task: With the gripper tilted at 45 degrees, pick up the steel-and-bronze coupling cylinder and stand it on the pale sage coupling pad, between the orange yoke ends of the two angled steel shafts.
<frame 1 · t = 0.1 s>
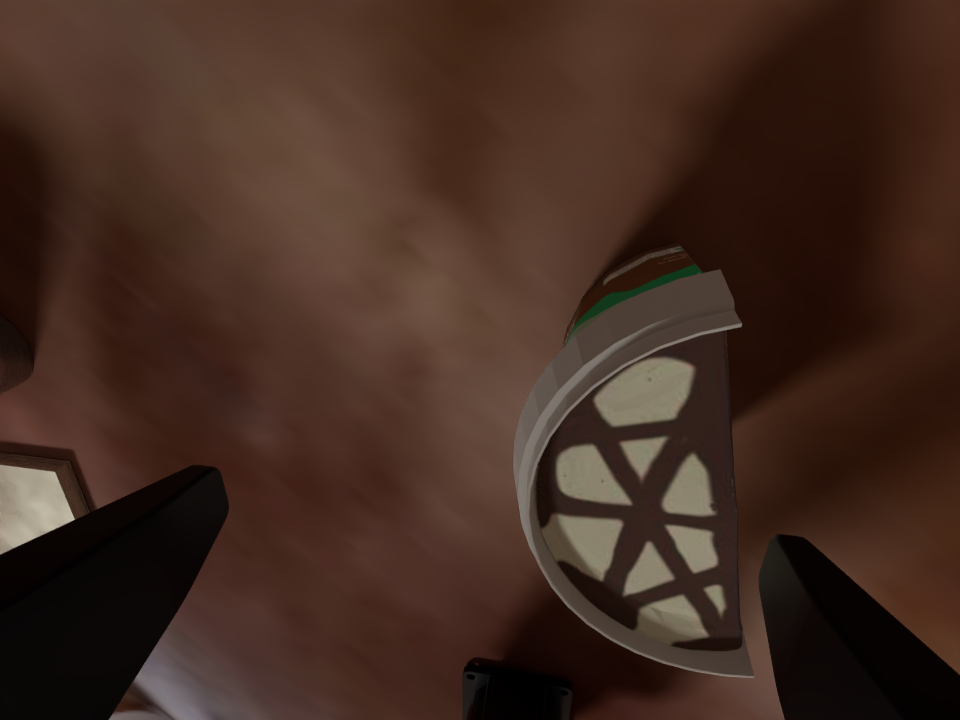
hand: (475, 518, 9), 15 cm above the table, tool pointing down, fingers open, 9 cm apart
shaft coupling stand: (16, 527, 35), on the table
food container: (609, 361, 24), on the table
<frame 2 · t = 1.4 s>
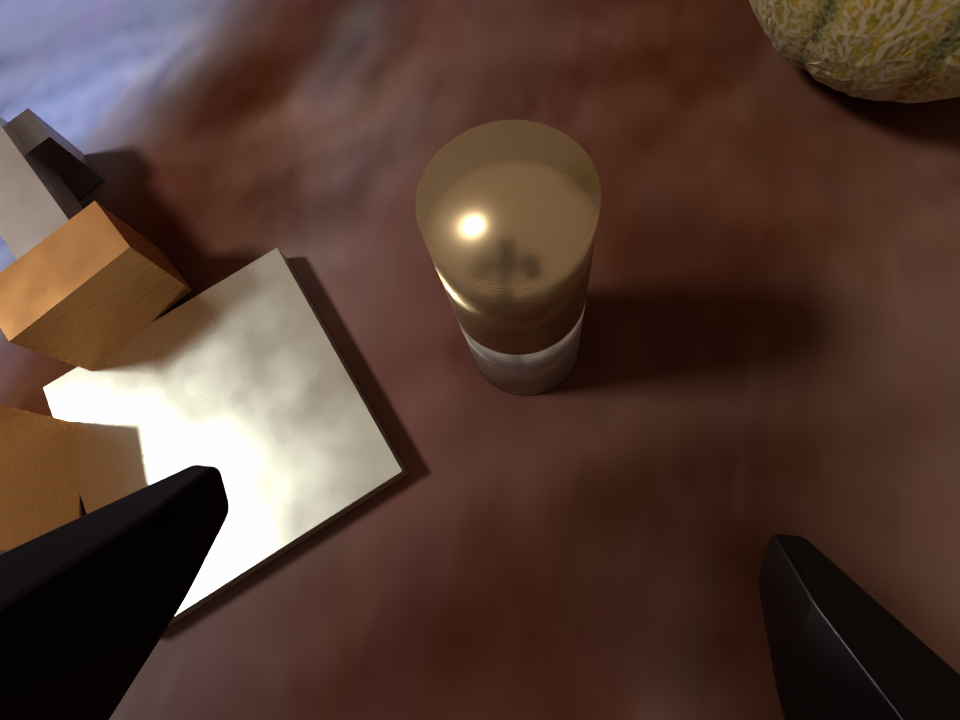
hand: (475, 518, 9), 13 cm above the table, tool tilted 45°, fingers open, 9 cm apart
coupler: (525, 344, 24), on the table
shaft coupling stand: (224, 430, 24), on the table
cantaloupe: (860, 46, 27), on the table
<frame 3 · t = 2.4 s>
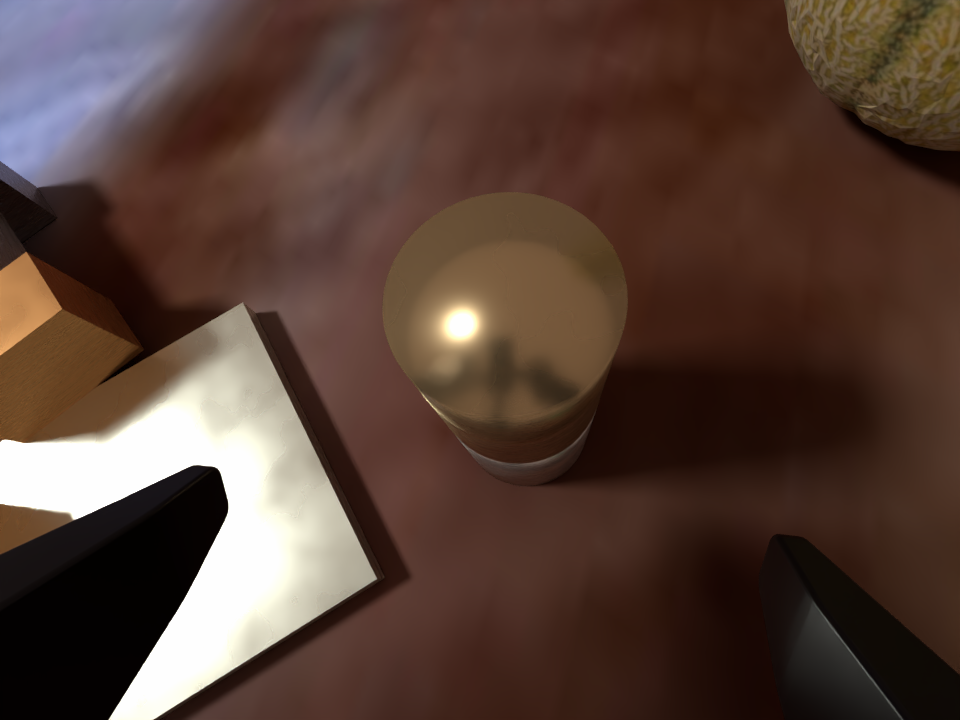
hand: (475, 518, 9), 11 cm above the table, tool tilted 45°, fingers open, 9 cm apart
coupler: (525, 423, 21), on the table
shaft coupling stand: (174, 516, 21), on the table
cantaloupe: (910, 84, 24), on the table
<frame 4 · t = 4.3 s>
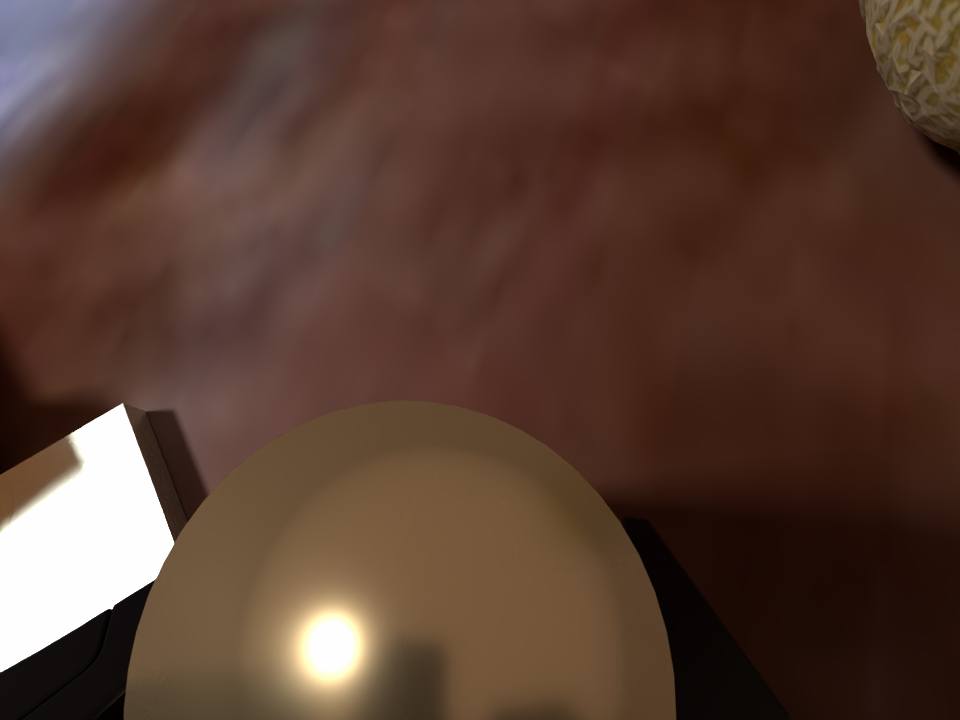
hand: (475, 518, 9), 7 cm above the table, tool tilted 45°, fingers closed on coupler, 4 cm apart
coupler: (499, 583, 15), on the table, touching gripper
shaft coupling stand: (18, 707, 15), on the table
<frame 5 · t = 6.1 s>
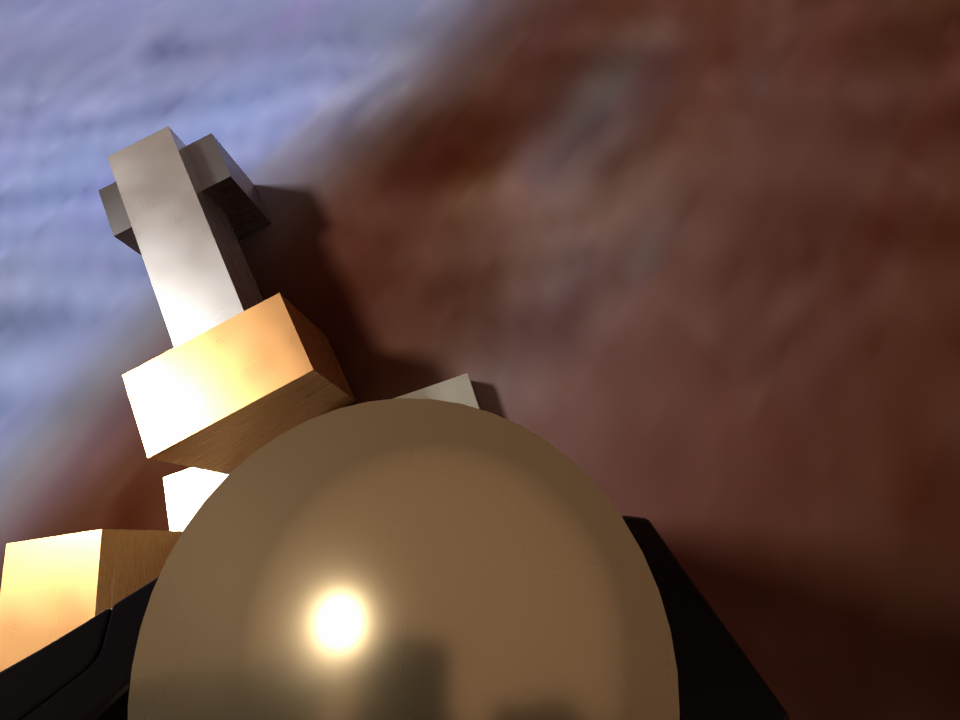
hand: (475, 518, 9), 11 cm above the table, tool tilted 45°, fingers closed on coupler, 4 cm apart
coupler: (500, 582, 15), point 5 cm above the table, touching gripper
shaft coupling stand: (361, 589, 20), on the table
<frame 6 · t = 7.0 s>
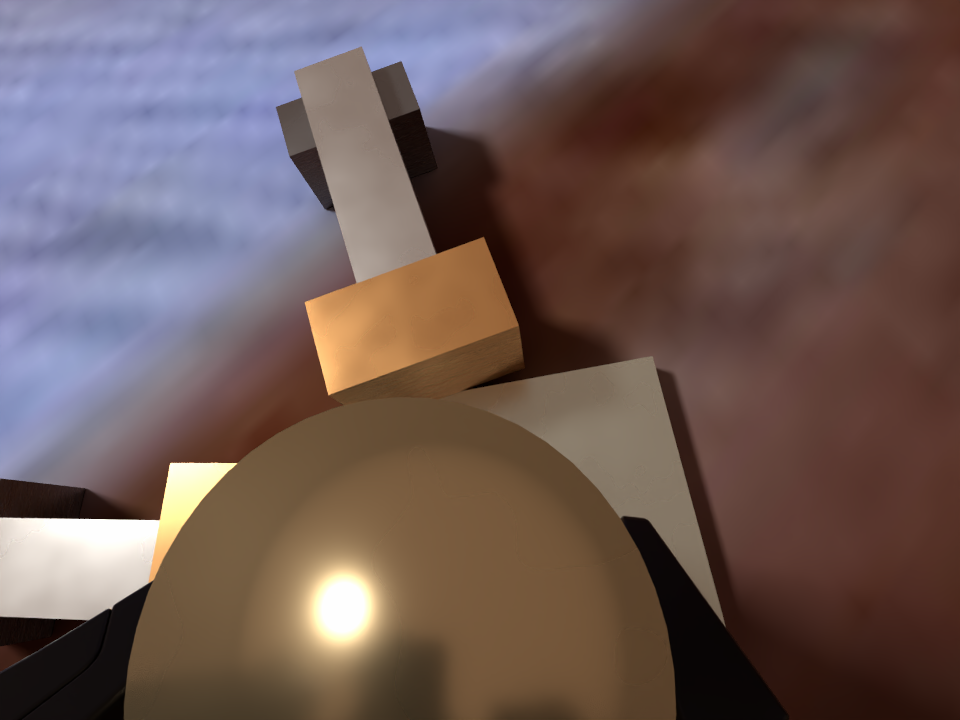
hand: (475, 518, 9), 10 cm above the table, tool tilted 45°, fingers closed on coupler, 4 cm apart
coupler: (499, 581, 15), point 4 cm above the table, touching gripper
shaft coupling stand: (509, 571, 18), on the table
when the fingers open (9 cm above the table, at t = 7.6 s): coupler drops 1 cm, resting on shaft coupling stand.
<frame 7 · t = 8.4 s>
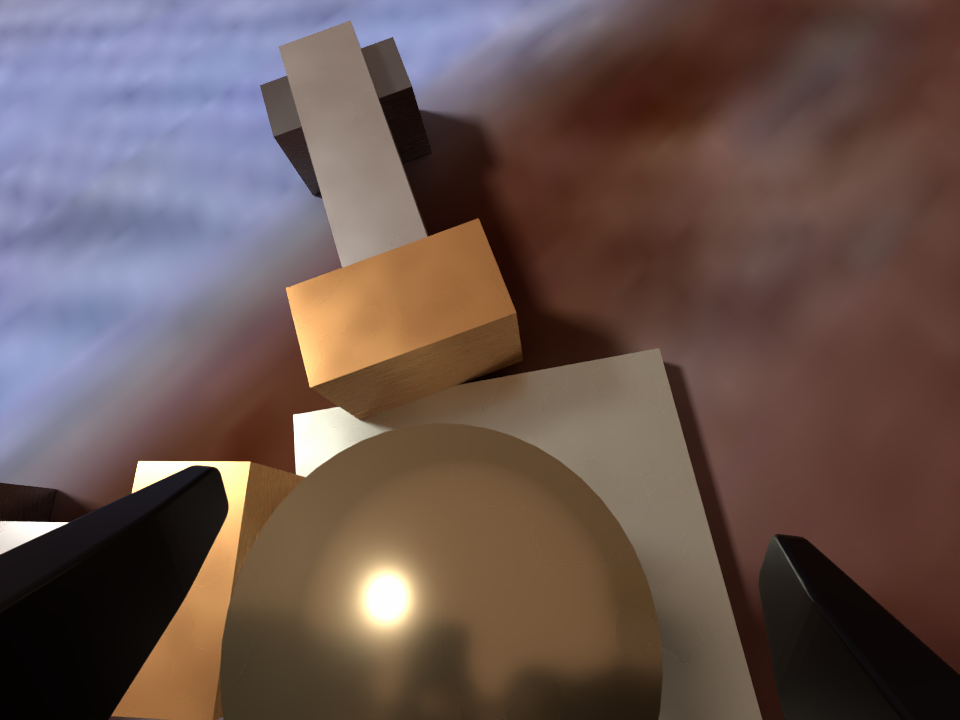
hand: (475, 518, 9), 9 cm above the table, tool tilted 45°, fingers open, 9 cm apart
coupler: (502, 582, 16), point 1 cm above the table, touching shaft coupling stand
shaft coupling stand: (506, 578, 17), on the table
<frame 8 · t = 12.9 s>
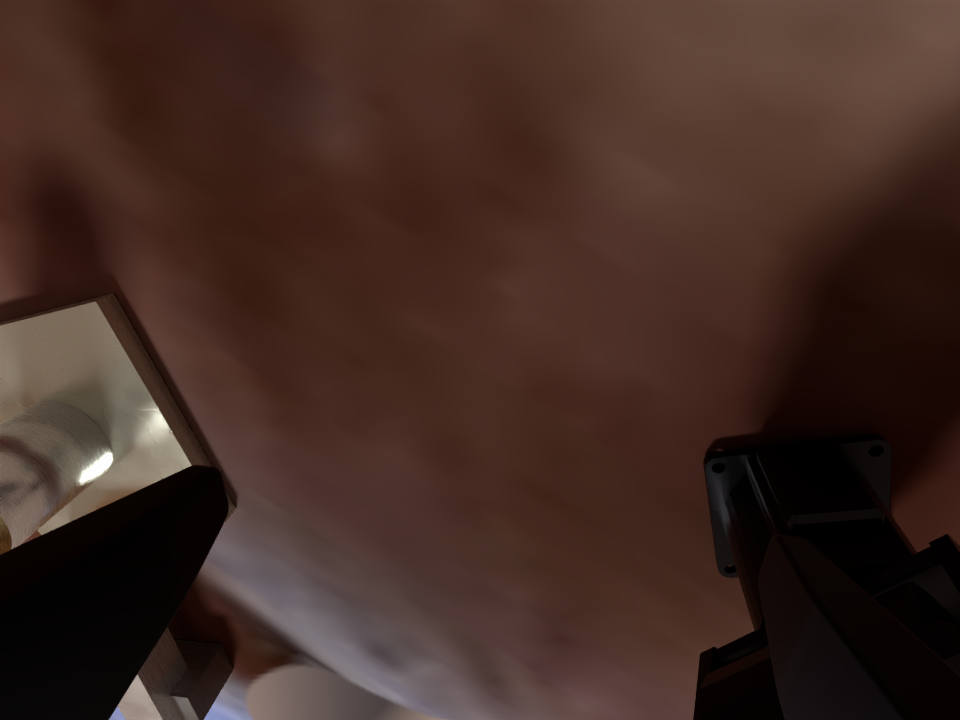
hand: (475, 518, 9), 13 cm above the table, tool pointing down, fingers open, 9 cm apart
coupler: (68, 440, 27), point 1 cm above the table, touching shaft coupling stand
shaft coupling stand: (83, 427, 28), on the table
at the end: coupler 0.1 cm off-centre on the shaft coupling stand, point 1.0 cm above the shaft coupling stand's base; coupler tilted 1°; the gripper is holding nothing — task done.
